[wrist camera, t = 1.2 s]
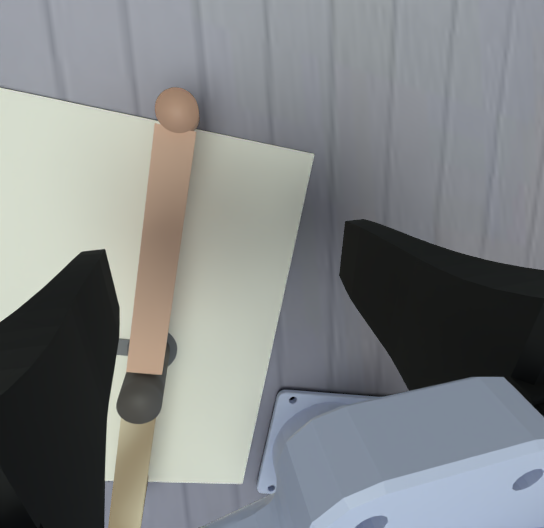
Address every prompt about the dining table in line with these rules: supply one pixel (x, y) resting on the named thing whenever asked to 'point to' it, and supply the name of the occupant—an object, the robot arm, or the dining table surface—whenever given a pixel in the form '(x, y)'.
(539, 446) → the robot arm
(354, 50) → the dining table surface
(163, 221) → the tan wooden bar
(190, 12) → the dining table surface
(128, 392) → the hammer
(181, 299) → the card
